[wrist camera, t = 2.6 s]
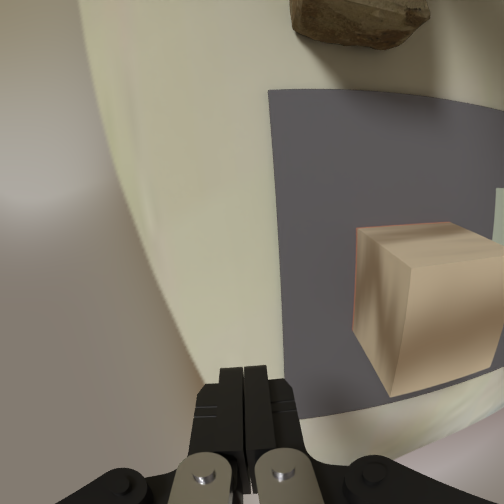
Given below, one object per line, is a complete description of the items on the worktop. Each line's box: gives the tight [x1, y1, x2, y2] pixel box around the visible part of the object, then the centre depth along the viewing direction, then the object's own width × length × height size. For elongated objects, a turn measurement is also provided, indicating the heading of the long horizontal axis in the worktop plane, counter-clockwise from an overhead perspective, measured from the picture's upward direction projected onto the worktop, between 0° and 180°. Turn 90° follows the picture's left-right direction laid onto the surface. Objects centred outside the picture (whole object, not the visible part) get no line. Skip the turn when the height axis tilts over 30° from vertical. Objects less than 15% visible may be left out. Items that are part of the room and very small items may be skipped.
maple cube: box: [352, 222, 504, 397], centre depth 14 cm, size 6×6×6 cm
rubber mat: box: [268, 89, 504, 419], centre depth 17 cm, size 20×26×1 cm
